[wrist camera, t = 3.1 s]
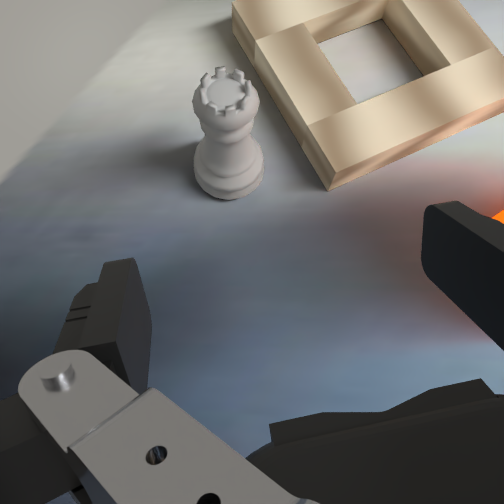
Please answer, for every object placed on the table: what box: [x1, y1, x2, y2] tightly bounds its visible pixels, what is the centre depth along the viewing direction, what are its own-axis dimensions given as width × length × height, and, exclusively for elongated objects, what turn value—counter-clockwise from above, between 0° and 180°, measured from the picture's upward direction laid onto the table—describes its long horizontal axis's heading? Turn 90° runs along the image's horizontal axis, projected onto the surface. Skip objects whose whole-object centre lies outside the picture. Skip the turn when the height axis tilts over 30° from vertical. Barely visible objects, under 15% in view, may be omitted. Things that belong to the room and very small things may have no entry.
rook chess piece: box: [192, 66, 265, 200], centre depth 24 cm, size 4×4×8 cm
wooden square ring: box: [232, 0, 504, 191], centre depth 29 cm, size 14×14×2 cm
